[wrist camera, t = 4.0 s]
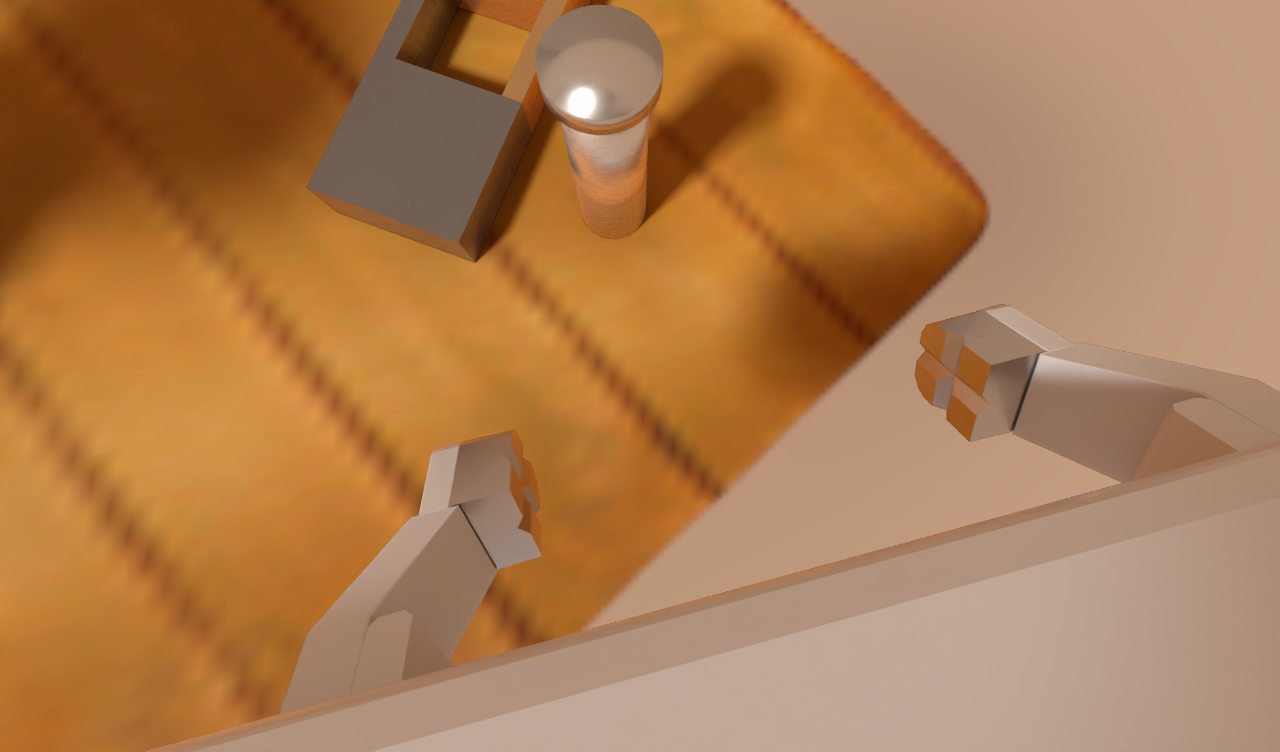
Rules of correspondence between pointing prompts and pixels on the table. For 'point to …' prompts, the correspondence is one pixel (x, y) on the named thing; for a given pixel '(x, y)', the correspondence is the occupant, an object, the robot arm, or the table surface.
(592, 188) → the metal peg
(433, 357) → the table surface
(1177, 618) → the robot arm
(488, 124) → the two-tone slotted plate
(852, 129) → the table surface
